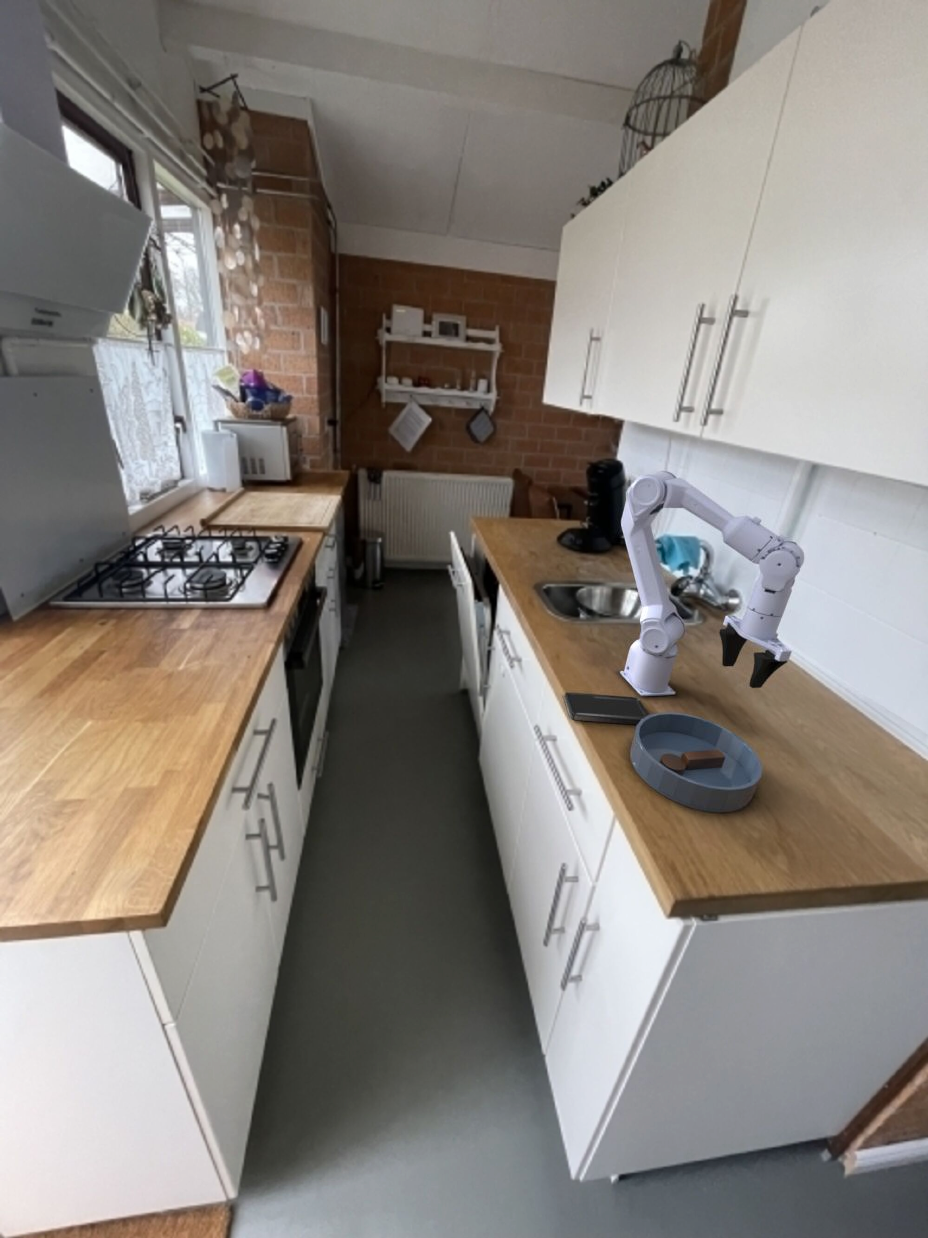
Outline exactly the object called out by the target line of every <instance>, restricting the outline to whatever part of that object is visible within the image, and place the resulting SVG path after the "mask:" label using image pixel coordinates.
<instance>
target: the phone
mask: <svg viewBox="0 0 928 1238" xmlns="http://www.w3.org/2000/svg"><path fill="white" fill-rule="evenodd" d="M563 700H564V704H565V707H566V710H567V714H568V716H569V718H570V719H572V720H574V721H585V722H598V723H610V724H623V725H635V726H637V725H638V723H639V722H640V721H641V720H642V719H643V718H645V717H647V716H649V715H650V714H648V712H647V710H646V708H645V706H644V704H643V702H642V700H641V699H640V698H637V697H634V696H624V695H611V694H599V693H598V694H597V693H588V692H587V693H585V692H573V691H567V692H565V694H564V698H563Z"/></svg>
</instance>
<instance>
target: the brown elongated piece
mask: <svg viewBox="0 0 928 1238" xmlns="http://www.w3.org/2000/svg"><path fill="white" fill-rule="evenodd" d="M725 758H726V757H725V756H724V755H723V754H722V753H721V752H720V751H719V750H718V749H717V750H703V751H690V752H683V753H682V756H681V758H680V757H679V756H677V755H674V754H664V755H662V756H661V759H660V762H659V763H661V764H662V765H663V766H665V767H666V768H667V769H669V770H671V771H673V772H675V773H677V774H678V775H682V774H684V772H685V770H695V769H707V768H719V767H722V766H723V763H724V760H725Z"/></svg>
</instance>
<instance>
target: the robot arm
mask: <svg viewBox="0 0 928 1238" xmlns="http://www.w3.org/2000/svg"><path fill="white" fill-rule="evenodd" d="M625 499H626V500H625V504H624V508H623V512H622V516H621V519H620V524H621V525H620V526H621V530H622V533H623V538H624V541H625V545H626V550H627V553H628V557H629V560H630V564H631V568H632V572H633V576H634V580H635V584H636V588H637V591H638V595H639V600H640V603H641V607H642V610H641V614H640V617H639V618H640V619H639V623H640V628H641V630H640V634H639V638H638V639H636V640H634V641H633V643H632V644H631V645H630V648H629V650H628V654H627V657H626V663H625V665H624V670H620V671H619V673H620V675H621V676H622V677H623V678H624V679H625V680H626V682H628V684H630V686H631V687H632V688H633V689H634V690H635V691H636V692H637V694H638V695H639V696H641V697H655V696H673V695H676V691H675V690H674V689H673V688H671V686H670V685H669V682H670V679H671V676H672V672H673V670H674V665H675V663H676V658H677V655H678V652H679V650H678V647H677V645H678V644H677V642H678V641H680V640H681V639H682V638H683V637H685V634H686V632H687V631H686V630H687V629H686V628H687V627H686V624H685V621H684V619H683V618H682V617H681V616H680V614H679V613H678V610H677V607H676V606H675V604H674V603H673V602H672V601H671V600H670V596H669V593H668V588H667V586H666V585H667V584H666V581H665V577H664V573H663V568H662V565H661V560H660V556H659V553H658V550H657V545H656V541H655V537H654V534H653V529H652V523H653V522H654V520H655V519H656V518H657V516H658V515H659V513H660V512H661V511H662V510H663V509H684V510H686V511H687V512H689V513H690V514H692V515H693V516H695V517H696V518H699V519H700V520H701V521H703V522H705V523H706V524H708V525H710V526H711V527H712V528H714V529H716V530H718V531H719V532H721V535H722V541H723V543H724V544H725V545H727V547H730V548H731V549H732V550H734V551H735V552H737V553H738V554H740V555H741V556H742V557H744V558H745V559H747V560H748V561H750V562H751V563H752V564H756V565H758V568H759V571H760V572H759V574H758V578H757V580H756V581H754V585H753V588H752V591H751V593H750V597H749V599H748V602H747V605H746V607H745V611H744V614H743V616H742V618H740V617H738V616H736V615H725V617H724V620H723V623H722V625H723V626H725V628H720V629H719V632H718V633H719V636H720V641H721V646H722V655H721V657H722V658H721V659H722V660H721V664H722V665H721V666H723V667H724V668H725V667H734V666H735V664H736V663H737V660H738V658H739V656H740V653H741V651H742V649H743V647H744V645H745V644H746V642H747V641H750V642H751V643H754V644H755V645H756V646H758V647H760V648H761V649H762V650H764V651H759V652H758V651H757V652H753V669H752V674H751V676H750V678H749V679H750V680H749V684H748V685H749V687H750V688H751V689H760V688H762V687H763V686H764V684H765V683H766V682H767V681H768V679H769V678H770V677H771V676H772V675H773V674H775V672H776V671H778V670H779V669H780V668H781V667H783V666H784V665H785V664H787V663H788V662H789V660H790V658H791V655H792V652H793V651H792V650H791V649H789V648H788V647H787V646H785V644H784V643H783V642H782V641H781V640H780V639H779V638H778V636H779V633H778V632H777V631H778V629H779V626H780V623H781V621H782V618H783V616H784V613H785V610H786V607H787V605H788V603H789V601H790V597H791V595H792V592H793V587H794V585H795V583H796V577H797V575H798V574H799V573H800V571H801V568H802V567H803V565H804V563H805V552H804V550H803V548H801V547H800V546H799V544H798V543H797V542H796V541H793V540H788V539H787V540H786V536H784V535H783V534H779V535H777V534H776V533H775V532H774V531H771V530H770V529H769V528H767V527H766V526H764V525H762V524H761V522H762V519H761V518H759V517H757V516H753V517H750V516H749V515H741V516H740V515H739V516H735V515H733V514H732V513H731V512H729V511H728V510H727V509H725V508H723V507H722V506H721V505H720V504H719V503H717V502H716V501H715V500H713V499H712V498H710V497H709V496H707V495H706V494H705V493H703V491H701V490H699V488H696V487H695V486H694V485H693V484H691V483H689V482H688V481H687V480H686V479H684V478H682V477H677V476H676V474H675V473H673V472H671V471H668V470H659V471H657V472H654V473H645V474H641V475H639V476H638V477H637V478H635V479H634V480H633V482H632V483H631V485H630V486H629V487H628V488H627V490H626V491H625Z"/></svg>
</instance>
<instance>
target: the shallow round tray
mask: <svg viewBox="0 0 928 1238" xmlns="http://www.w3.org/2000/svg"><path fill="white" fill-rule="evenodd" d="M648 715H649V716H647V717H645V718H643V719H642V720H641V721H640V722H639V723H638V725H635V731H634V734H633V737H632V740H631V746H630V751H629V758H630V761H631V764H632V766H633V768H634V770H635V772H636V773H637V775H638V776H639V777H640V778H641V780H643V781H644V782H645V784H647V785H648V786H650V788H651V789H652V790H654V791H655V792H657V793H658V794H660V795H662V796H664V797H665V798H667V799H669V800H671V801H673V802H675V803H677V804H679V805H681V806H684V807H688V808H691V809H694V810H697V811H702V812H709V813H721V814H722V813H732V812H736V811H739V810H741V809H742V808H745V807H746V806H747V805H749V803H750V802H751V800H752V799H753V797H754V796H755V795H754V794H755V792H756V791H757V788H758V786H759V784H760V781H761V778H762V776H763V775H762V774H763V772H764V771H763V770H764V769H763V766H762V760H761V759H760V757H759V756H758V754H757V752H756V751H755V750H754V749H753V748H752V747H751V745H749V744H748V742H746V741H745V740H744V739H743V738H741V737H740V736H739V735H737V734H736V733H734V732H733V731H731V730H729V729H728V728H726V727H724V726H722V725H720V724H718V723H716V722H713V721H712V720H708V719H706V718H702V717H700V716H697V715H693V714H687V713H684V712H672V711H669V712H668V711H666V712H657V713H652V714H648ZM717 749H718V750H719V751H720V752H721V753H722V754H723V755H724V756H725V757H726V758H725V760H724V763H723V766H722V767H719V768H707V769H695V770H685V772H684V774H682V775H678V774H677V773H675V772H673V771H671V770H669V769H667V768H666V767H665V766H663V765H662V764H661V763H659V762H660V759H661V756H662V755H664V754H674V755H677V756H679V757H680V758H681V756H682V753H683V752H690V751H703V750H717Z"/></svg>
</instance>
